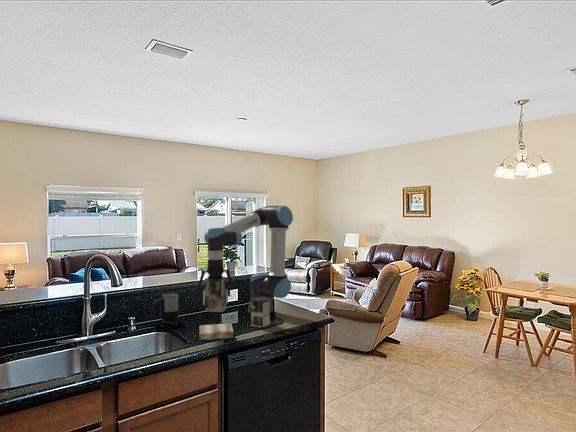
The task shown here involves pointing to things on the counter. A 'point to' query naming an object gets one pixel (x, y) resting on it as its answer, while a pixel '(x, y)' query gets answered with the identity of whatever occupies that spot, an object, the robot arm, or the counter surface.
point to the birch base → (215, 331)
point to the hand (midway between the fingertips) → (215, 303)
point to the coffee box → (215, 294)
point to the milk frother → (167, 309)
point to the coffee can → (260, 311)
